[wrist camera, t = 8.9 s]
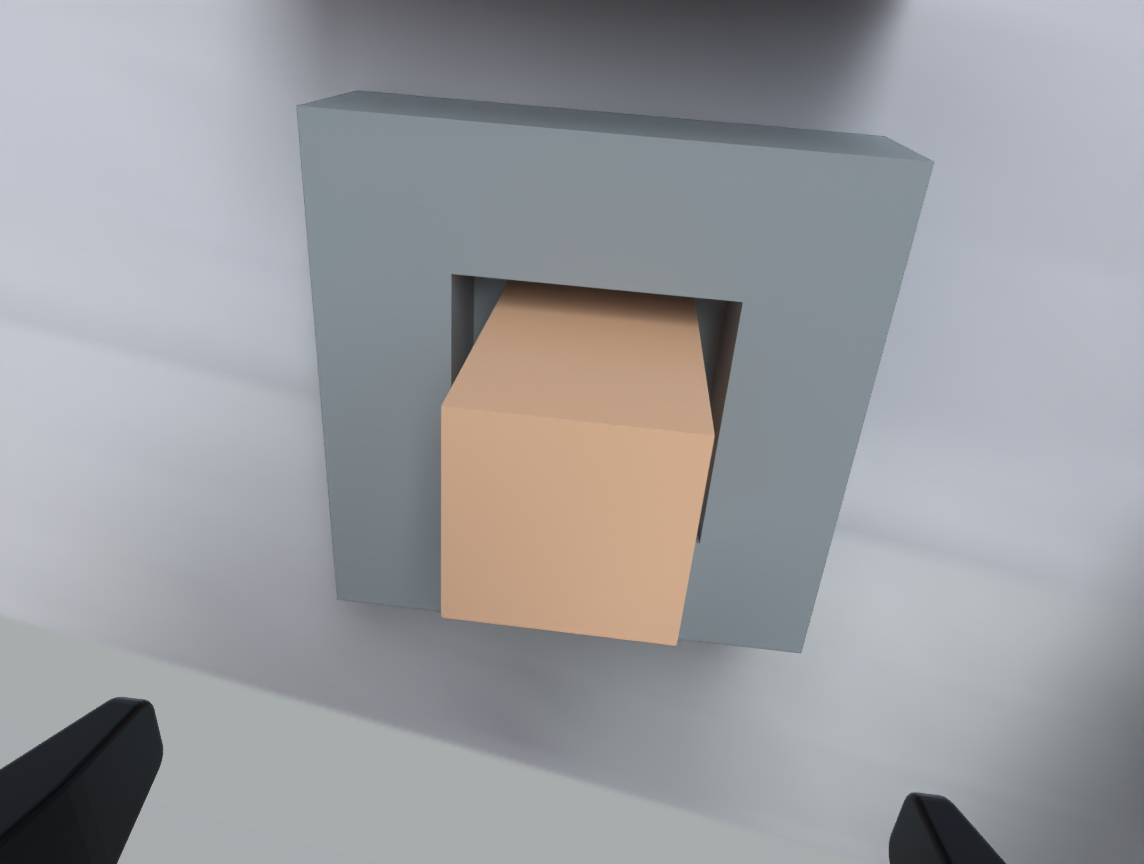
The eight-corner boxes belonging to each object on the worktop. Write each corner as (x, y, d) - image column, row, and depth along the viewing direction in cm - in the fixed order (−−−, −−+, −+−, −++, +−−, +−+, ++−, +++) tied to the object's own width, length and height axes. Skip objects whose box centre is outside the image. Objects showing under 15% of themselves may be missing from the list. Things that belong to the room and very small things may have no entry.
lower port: (885, 136, 18) (933, 161, 15) (781, 569, 23) (801, 653, 20) (356, 90, 18) (296, 105, 15) (378, 523, 24) (336, 599, 21)
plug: (694, 298, 19) (714, 435, 13) (669, 459, 21) (676, 645, 15) (509, 279, 19) (440, 405, 13) (502, 441, 21) (441, 616, 15)
